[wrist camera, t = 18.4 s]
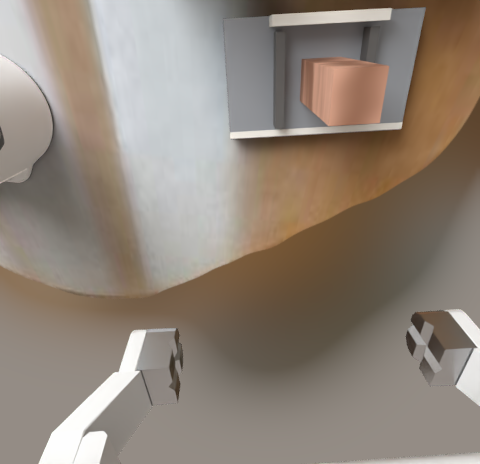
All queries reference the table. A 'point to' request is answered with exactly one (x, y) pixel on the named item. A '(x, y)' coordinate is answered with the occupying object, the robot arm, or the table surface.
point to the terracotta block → (343, 90)
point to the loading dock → (305, 47)
